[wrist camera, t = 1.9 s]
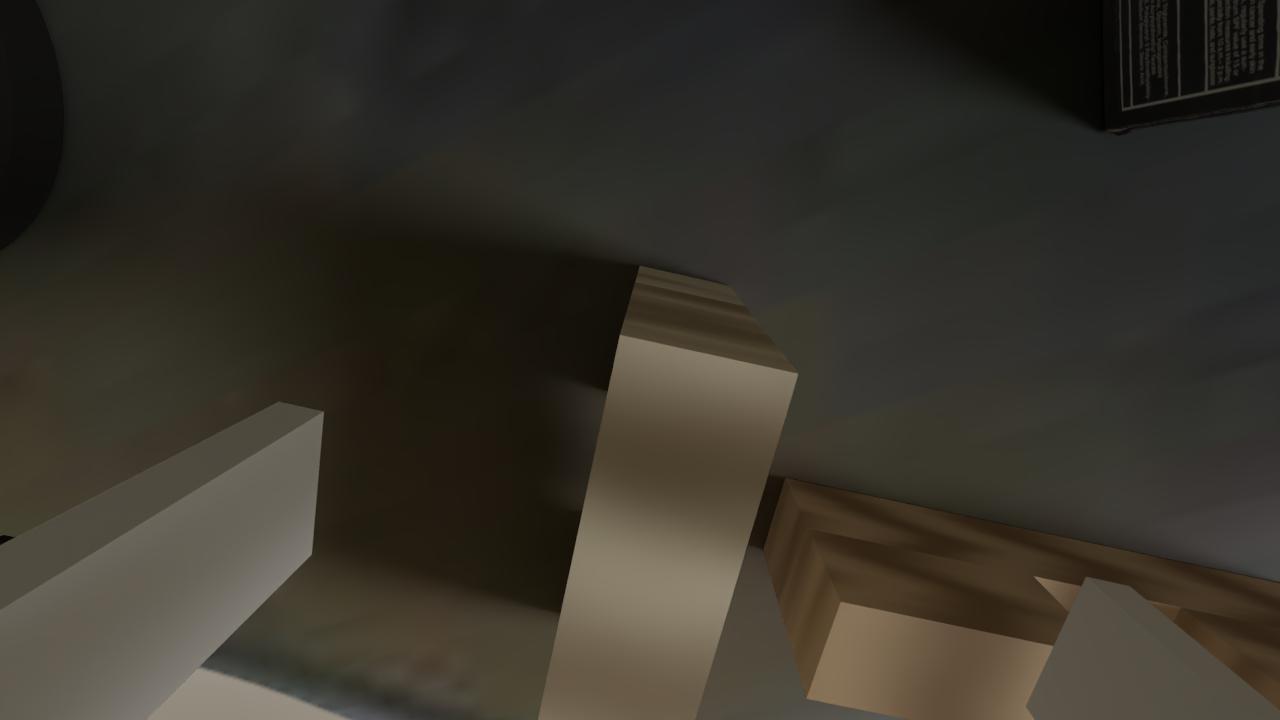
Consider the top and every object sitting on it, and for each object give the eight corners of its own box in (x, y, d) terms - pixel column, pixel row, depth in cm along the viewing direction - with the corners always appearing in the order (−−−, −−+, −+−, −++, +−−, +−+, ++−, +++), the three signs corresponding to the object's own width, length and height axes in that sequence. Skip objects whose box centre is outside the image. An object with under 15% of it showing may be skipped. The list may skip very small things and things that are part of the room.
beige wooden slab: (640, 630, 27) (626, 949, 16) (564, 615, 27) (494, 923, 16) (729, 285, 23) (798, 373, 12) (640, 265, 23) (620, 334, 12)
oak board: (762, 550, 26) (806, 698, 18) (785, 477, 25) (841, 601, 17) (1249, 652, 27) (1490, 838, 19) (1288, 585, 26) (1557, 751, 18)
